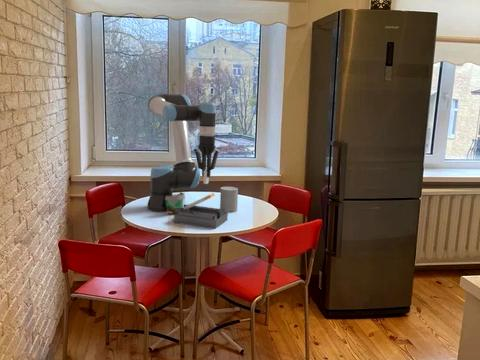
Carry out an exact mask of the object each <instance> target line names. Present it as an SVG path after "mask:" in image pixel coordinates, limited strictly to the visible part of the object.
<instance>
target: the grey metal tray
mask: <svg viewBox="0 0 480 360" xmlns="http://www.w3.org/2000/svg"><path fill="white" fill-rule="evenodd" d="M187 205H188V204H183V207H185V206H187ZM228 214H229V213H228V212H224V209H220V208H215V207H208V206H201V205H195V206H193V207H190V208H188V209H186V210H184V211H182V208H178V213H176V214H174V215H173V223H175V224H180V225H181V224H182V225H187V226H188V225H189V226H194V227H203V228H208V229H209V228H210V229H214V230H216V229H217V228H219V227H220V226H222V225H223V224H224V223H226V222H227V221H228V218H229V217H228V216H229V215H228Z"/></svg>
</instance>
